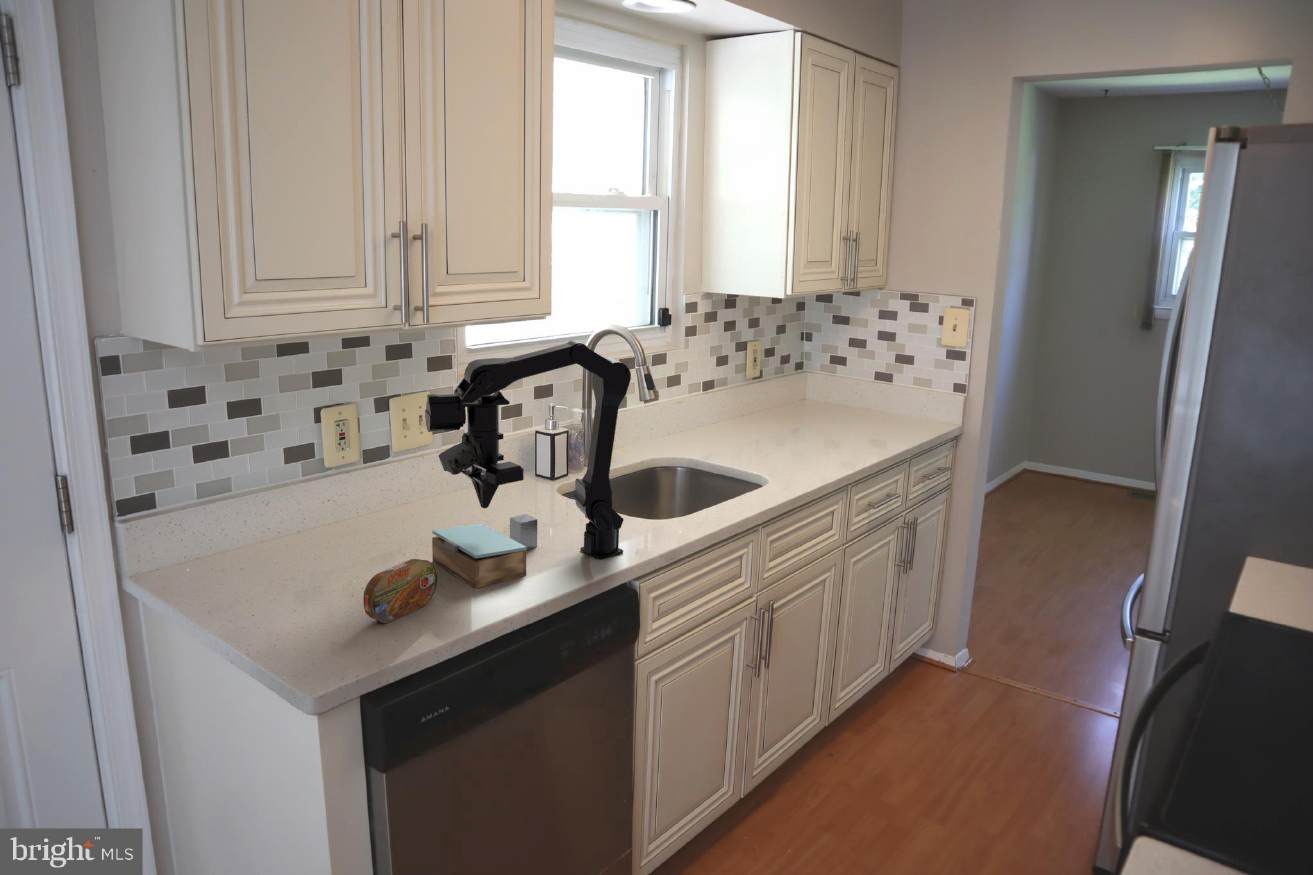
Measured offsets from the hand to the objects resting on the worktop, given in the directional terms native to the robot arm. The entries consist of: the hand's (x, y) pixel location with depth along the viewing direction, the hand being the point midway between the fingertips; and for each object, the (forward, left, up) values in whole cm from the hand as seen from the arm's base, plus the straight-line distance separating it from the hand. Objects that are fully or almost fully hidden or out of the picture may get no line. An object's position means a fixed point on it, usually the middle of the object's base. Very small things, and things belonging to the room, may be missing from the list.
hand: (484, 507), depth 175 cm
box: (+2, +1, -12) cm, 12 cm away
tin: (+22, +10, -12) cm, 27 cm away
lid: (+2, +1, -7) cm, 7 cm away
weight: (-12, -4, -12) cm, 17 cm away
